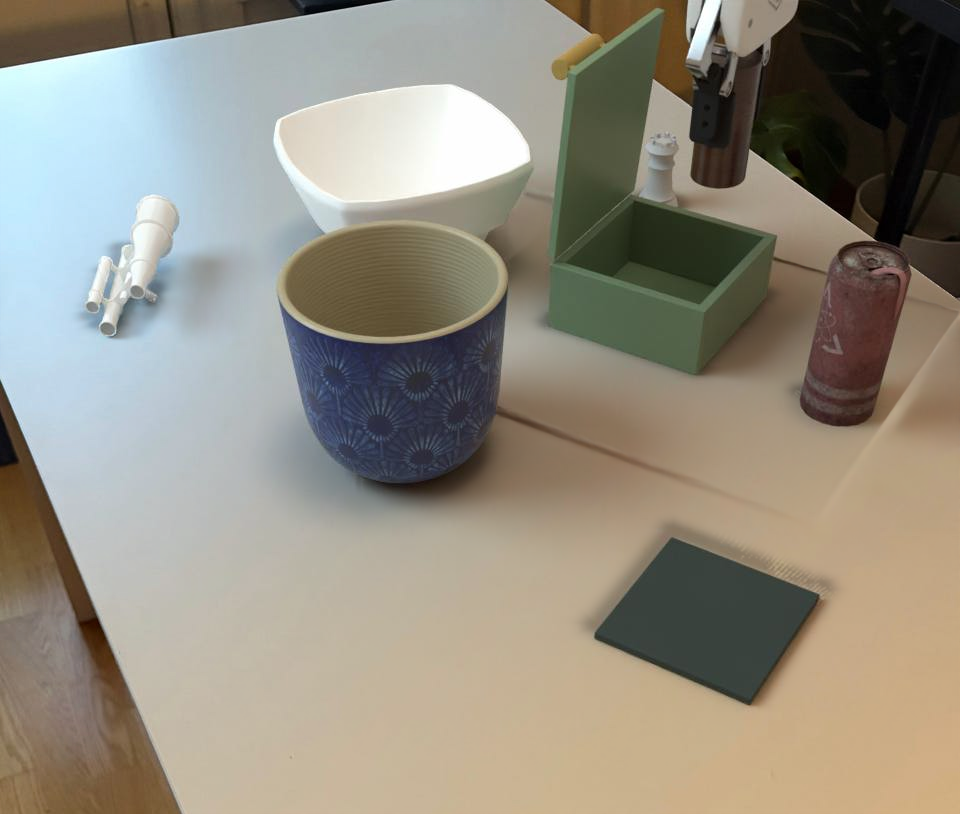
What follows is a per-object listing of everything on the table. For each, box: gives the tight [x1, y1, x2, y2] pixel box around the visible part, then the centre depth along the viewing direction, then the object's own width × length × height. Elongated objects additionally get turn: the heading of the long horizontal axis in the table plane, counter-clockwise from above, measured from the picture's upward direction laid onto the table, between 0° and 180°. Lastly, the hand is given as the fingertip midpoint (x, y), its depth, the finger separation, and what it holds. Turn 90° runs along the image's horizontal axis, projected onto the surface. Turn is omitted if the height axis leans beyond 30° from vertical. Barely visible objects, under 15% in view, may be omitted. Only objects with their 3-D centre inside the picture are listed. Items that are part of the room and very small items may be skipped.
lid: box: [546, 7, 665, 261], centre depth 104 cm, size 16×15×5 cm
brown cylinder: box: [689, 50, 763, 190], centre depth 95 cm, size 4×4×9 cm
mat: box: [594, 536, 821, 706], centre depth 87 cm, size 12×12×1 cm
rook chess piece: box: [638, 131, 680, 208], centre depth 122 cm, size 4×4×8 cm
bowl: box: [272, 83, 535, 242], centre depth 115 cm, size 22×22×12 cm
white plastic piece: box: [84, 194, 181, 337], centre depth 114 cm, size 8×14×5 cm
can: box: [799, 240, 913, 428], centre depth 97 cm, size 6×6×14 cm
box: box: [548, 193, 778, 376], centre depth 110 cm, size 15×15×7 cm
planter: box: [276, 220, 509, 484], centre depth 95 cm, size 17×17×15 cm
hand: (724, 128), depth 95 cm, fingers closed on brown cylinder, 4 cm apart
